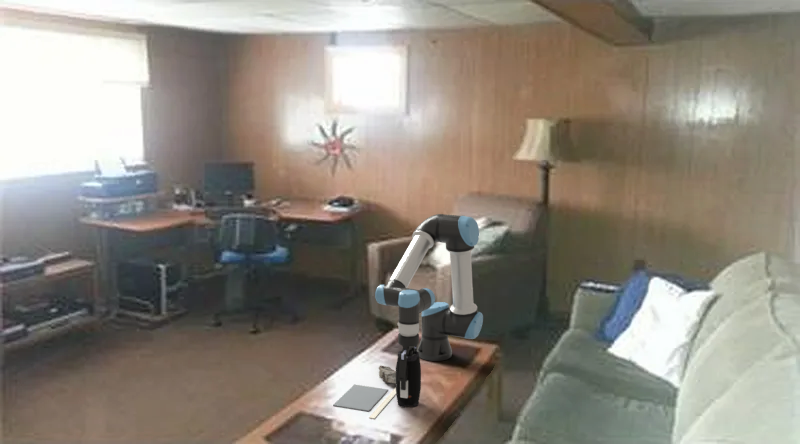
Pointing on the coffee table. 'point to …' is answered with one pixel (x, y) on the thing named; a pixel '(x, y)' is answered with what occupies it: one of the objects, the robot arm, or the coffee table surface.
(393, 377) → the mineral rock
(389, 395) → the strip
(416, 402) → the portable speaker
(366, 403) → the mat
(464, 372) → the coffee table surface
